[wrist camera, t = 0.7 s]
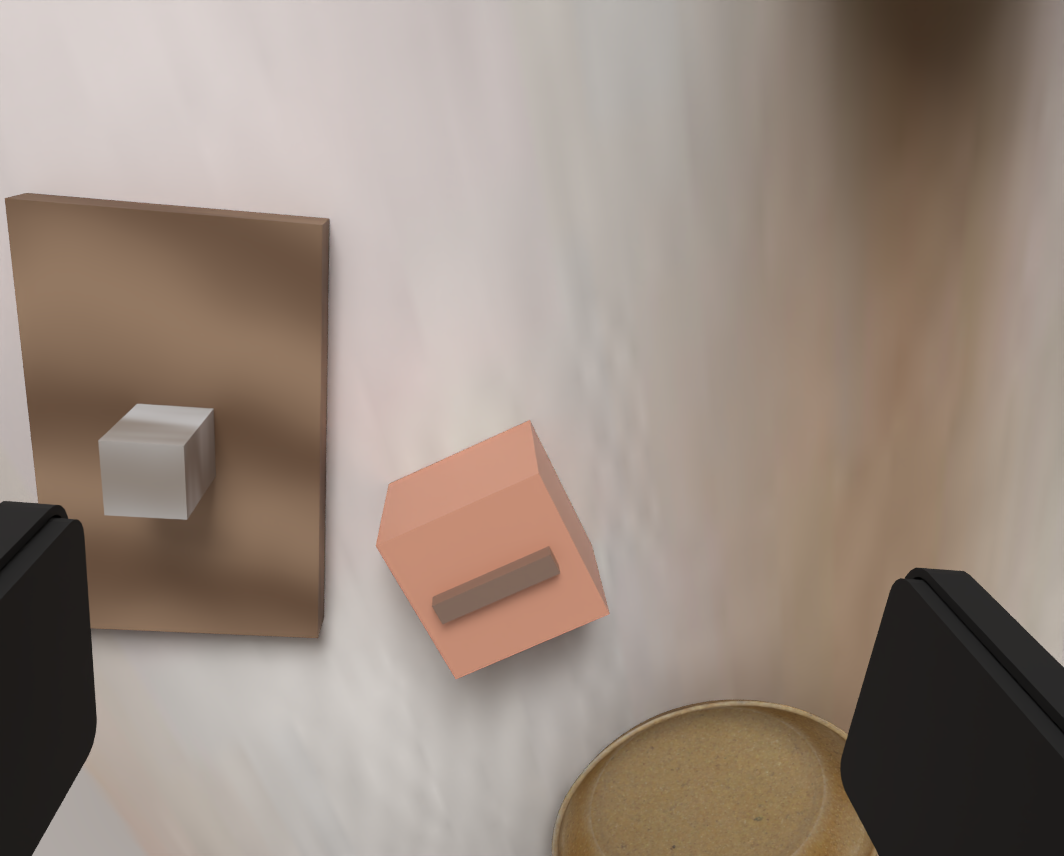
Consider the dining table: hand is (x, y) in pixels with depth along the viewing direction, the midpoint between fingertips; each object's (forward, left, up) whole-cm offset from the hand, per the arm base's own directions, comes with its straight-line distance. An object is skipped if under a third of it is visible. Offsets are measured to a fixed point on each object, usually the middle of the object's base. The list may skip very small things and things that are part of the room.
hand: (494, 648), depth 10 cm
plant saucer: (-24, -12, -24) cm, 36 cm away
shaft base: (-7, +10, -23) cm, 26 cm away
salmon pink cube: (-10, -1, -23) cm, 25 cm away
